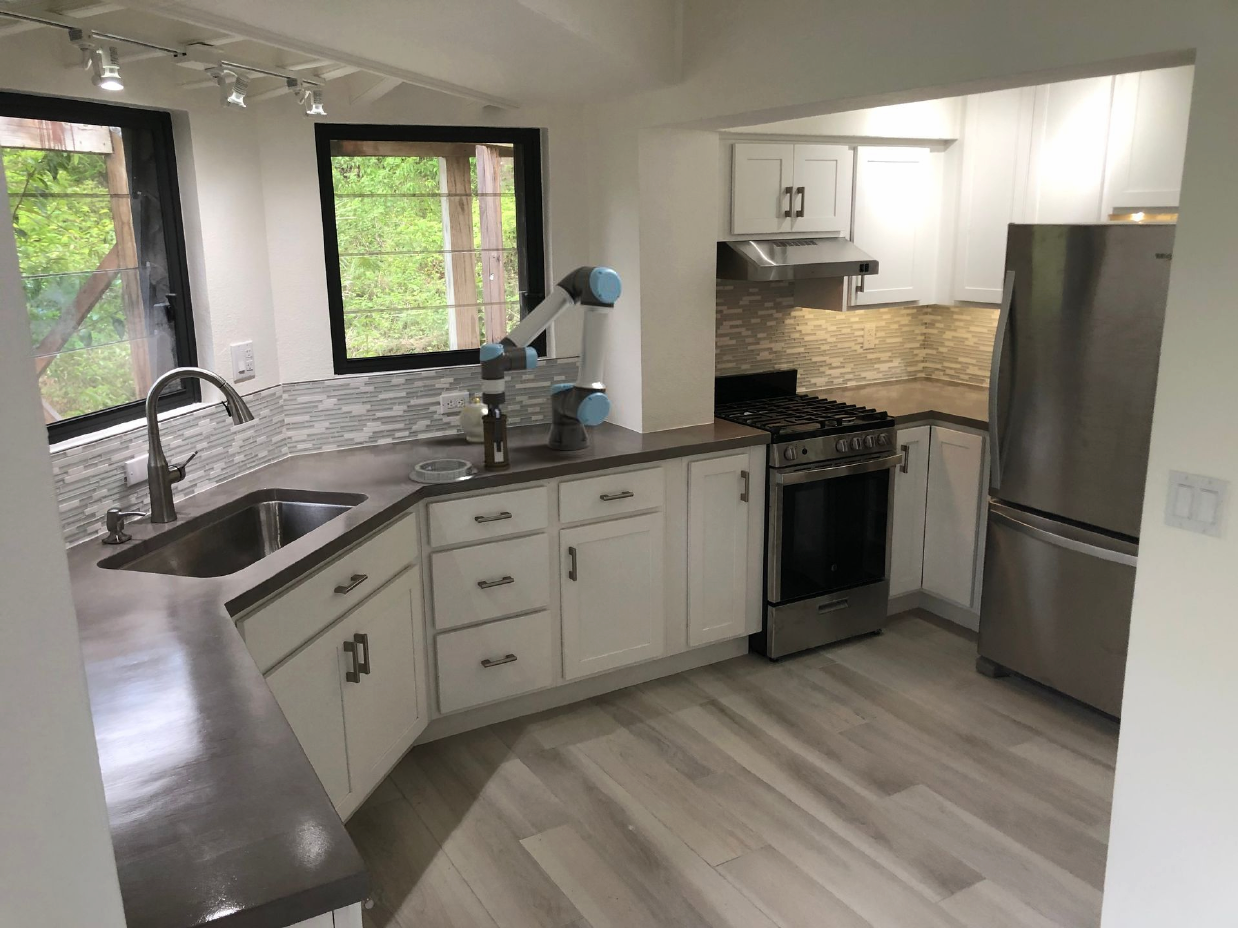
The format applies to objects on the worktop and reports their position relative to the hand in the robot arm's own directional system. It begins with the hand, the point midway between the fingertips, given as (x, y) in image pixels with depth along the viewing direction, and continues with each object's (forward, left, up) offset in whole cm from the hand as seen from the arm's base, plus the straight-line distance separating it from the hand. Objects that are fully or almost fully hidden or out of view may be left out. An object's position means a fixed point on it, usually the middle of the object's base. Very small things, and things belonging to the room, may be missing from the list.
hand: (496, 457), depth 323 cm
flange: (+18, +3, -4) cm, 19 cm away
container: (0, 0, -4) cm, 4 cm away
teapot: (-1, -43, -4) cm, 43 cm away
